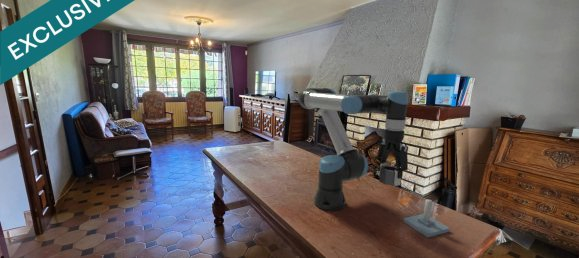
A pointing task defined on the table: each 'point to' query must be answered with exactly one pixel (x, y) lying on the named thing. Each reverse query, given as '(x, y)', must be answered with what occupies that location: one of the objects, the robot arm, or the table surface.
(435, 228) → the shaft block
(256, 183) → the table surface
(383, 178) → the hub
